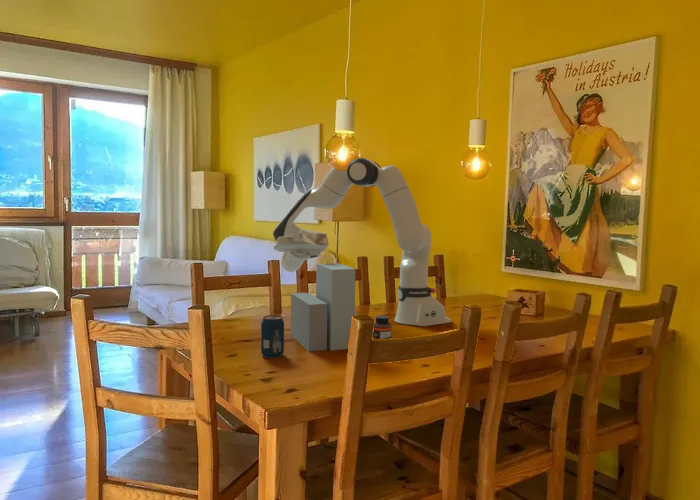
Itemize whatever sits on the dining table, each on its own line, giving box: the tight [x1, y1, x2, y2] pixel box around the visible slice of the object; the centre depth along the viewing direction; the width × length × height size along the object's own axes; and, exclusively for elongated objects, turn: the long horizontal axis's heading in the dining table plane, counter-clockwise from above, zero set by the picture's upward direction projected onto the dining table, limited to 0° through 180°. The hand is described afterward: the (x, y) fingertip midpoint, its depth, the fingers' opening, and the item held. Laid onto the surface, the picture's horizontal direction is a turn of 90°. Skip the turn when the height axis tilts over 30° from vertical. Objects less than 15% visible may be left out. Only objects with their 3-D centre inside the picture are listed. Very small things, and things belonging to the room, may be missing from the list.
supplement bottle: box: [372, 315, 392, 339], centre depth 177 cm, size 6×6×11 cm
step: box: [290, 292, 328, 352], centre depth 187 cm, size 6×22×15 cm, turn 21°
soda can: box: [260, 314, 285, 359], centre depth 170 cm, size 7×7×12 cm
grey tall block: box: [315, 262, 357, 351], centre depth 185 cm, size 8×16×26 cm, turn 21°
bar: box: [300, 229, 328, 245], centre depth 204 cm, size 4×20×4 cm, turn 21°
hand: (307, 234), depth 210 cm, fingers closed on bar, 4 cm apart
